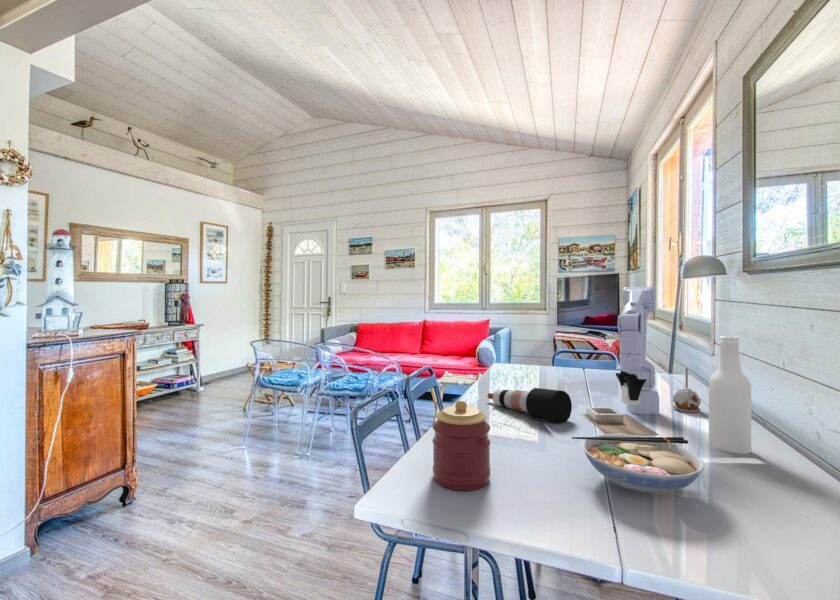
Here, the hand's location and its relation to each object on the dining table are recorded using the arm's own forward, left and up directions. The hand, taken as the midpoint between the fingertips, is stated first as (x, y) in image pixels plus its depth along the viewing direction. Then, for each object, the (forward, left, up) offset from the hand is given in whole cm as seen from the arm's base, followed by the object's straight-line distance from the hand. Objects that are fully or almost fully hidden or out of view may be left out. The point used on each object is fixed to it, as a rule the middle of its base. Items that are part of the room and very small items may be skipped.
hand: (630, 398), depth 119 cm
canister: (+52, +33, -10) cm, 63 cm away
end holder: (+4, -9, -9) cm, 13 cm away
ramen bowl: (+14, +35, -10) cm, 39 cm away
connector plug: (0, 0, -1) cm, 1 cm away
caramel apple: (-30, -23, -10) cm, 39 cm away
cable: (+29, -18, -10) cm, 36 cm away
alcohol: (-19, +14, -10) cm, 26 cm away
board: (+2, -4, -10) cm, 11 cm away
